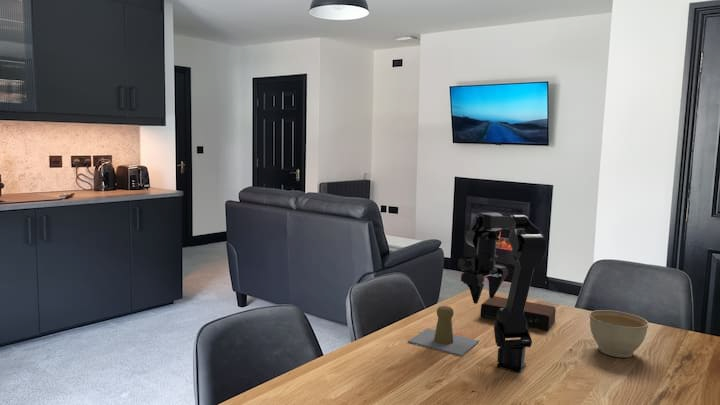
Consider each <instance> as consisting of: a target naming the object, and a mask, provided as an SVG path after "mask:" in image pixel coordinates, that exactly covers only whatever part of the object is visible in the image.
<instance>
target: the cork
mask: <svg viewBox="0 0 720 405" xmlns="http://www.w3.org/2000/svg"><path fill="white" fill-rule="evenodd" d="M454 314H455V313H454V309H453V308H452V307H451V306H448V305H441V306H438V308H437V309H436V315H437V322H436V327H435V330H436V332H435V338H434V341H435V342H436V343H438V344H443V345H449V344H452V343H453V334H454V332H453V330H454V329H453V320H452V318H453V316H454Z"/></svg>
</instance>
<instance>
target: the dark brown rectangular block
mask: <svg viewBox="0 0 720 405" xmlns="http://www.w3.org/2000/svg"><path fill="white" fill-rule="evenodd" d="M507 299H508V297H501V296H495V295H494V297H493V298H490V297H489V298H487V299H486V300H484V302H483V303H482V304H480V315H479V317H480V319H484V320H489V321H494V322H496V321H495V319H496V316H497V311H498V309H500V308H505V307H506V304H507ZM556 311H557V310H556V307H555V306H553V305H548V304H547V305H546V304H541V303H535V302H529V301H526V304H525V309H524V315H525V318H526V320H527V328H530V329H536V330H539V331H544V332H549V331H550V329H551V328H552V326H553V324H554V323H555V322H556Z"/></svg>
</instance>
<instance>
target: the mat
mask: <svg viewBox="0 0 720 405" xmlns="http://www.w3.org/2000/svg"><path fill="white" fill-rule="evenodd" d="M435 332H436V329H432V328H426V329H424V330H422V331H420V332H419V333H418V334H416V335H415V336H413V337H412V338H410V339H408V340H407V343H408V342H409V344H412V343H413V345H416V344H418V345H417V346H420V345H421V346H420V347H424V346H425V348H427V349H431V348H432V349H433V350H435V349H436V351H439V352H444V353H447V354H451V355H454V356H459V357H463V356H464V355H466V354H467V353H468V352H469V351H470V350H472V349H473V348H474V347H475V346H476V345H477V344H478V343H480V340H478V339H475V338H469V337H466V336H462V335H457V334H454V333H453V343H452V344H449V345H443V344H438V343H436V342H435V341H434V338H435Z"/></svg>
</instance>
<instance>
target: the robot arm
mask: <svg viewBox="0 0 720 405" xmlns="http://www.w3.org/2000/svg"><path fill="white" fill-rule="evenodd" d="M469 228H470V229H469V230H468V231H467V232H466V234H465V237H464V238H465V242H466V244H467V245H469V246H471V247H473V248H475V249H476V254H474V255H473V256H472V258H471V259H467V258H466V257H463V258H459V259H458V263H457V267H458V269H460V270H461V272H462V273H461V274H460V281H461V282H462V283H463V284H465V285H467V287H468V289H469V291H470V296H471V298H472V302H473V304H475V305H476V304H478V302H479V300H480V298H481V295H482V291H483V288H484V286H485V284H484V281H485V278H486V279H487V280H488V294H489V295H488V297H489V298H493V297H494V296H495V295H496V293H497V292H498V290H499V288H500V287H501V285H502V283H503V282H504V280H505V279H506V277H508V276H509V269H508V268H507V266H504V265H500V264H496V260H499V255H496V254H497V253H496V252H497V251H496V250H497V241H499V240H500V237H499V235H497V233H496V232H497V231H501V230H503V229H509V235H508V237H507V238H508V242H509V245H510V246H511V254H512V255H513V258H514V260H515V265H514V269H513V274H512V278H511V283H510V287H509V291H508V296H507V298H508V299H507V304H506V307H505V308H500V309H498V311H497V316H496V319H495V321H494V325H493V331H494V332H493V333H494V340H495V344H496V346H497V347H498V348H497V359H496V360H497V364H496V367H497V368H501V369H505V370H509V371H512V372H516V373H521V372H522V371H523V369H525V367H526V365H527V363H526V362H525V357H526V348H531V347H532V344H533V340H532V337H531V335H530V331H529V329H528V328H529V327H527V320H526V318H525V315H524V309H525V304H526V302H527V300H528V296H529V292H530V288H531V284H532V283H531V282H532V279H533V275H534V272H535V268H536V267H537V266H538V265H539V264H540V263H541V262H542V261H543V260H544V257H545V255H546V253H547V250H548V241H547V239H546V237H545V236H544V234H543V232H542V230H541V229H540V228H539V227H538V226H536V225H535V224H534V223H532V222H531V220H530V217H529V216H527V215H524V214H511V215H503V214H502V213H499V212H478V213H477V214H476V216H475V218H474V219H473V221H472V224H471V225H470V226H469ZM516 230H519V231H520V230H523V231H524V233H525V234H523V233H522V234H517V232H516Z"/></svg>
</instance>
